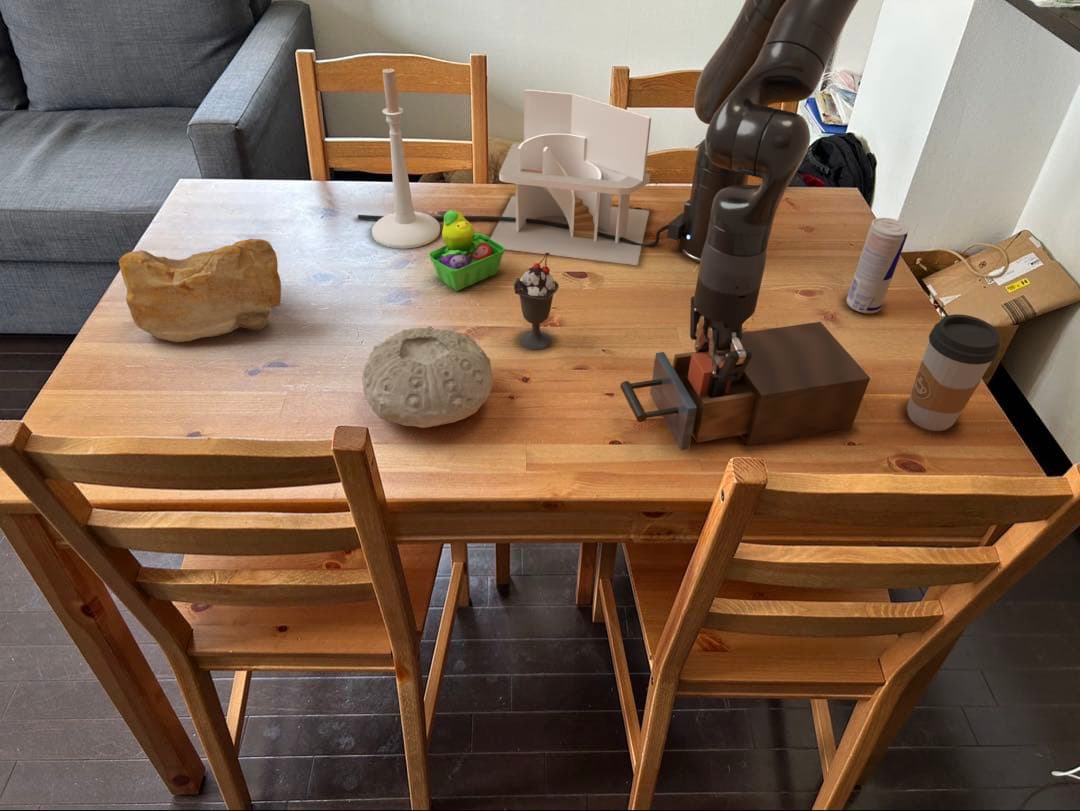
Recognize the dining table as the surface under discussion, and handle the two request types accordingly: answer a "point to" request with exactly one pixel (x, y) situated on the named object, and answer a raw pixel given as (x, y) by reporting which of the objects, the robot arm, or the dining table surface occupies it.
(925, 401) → the coffee cup
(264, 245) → the rough brown rock
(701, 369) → the block
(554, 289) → the sundae
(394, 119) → the candlestick
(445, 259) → the fruit basket
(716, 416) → the drawer
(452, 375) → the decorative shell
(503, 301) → the dining table surface
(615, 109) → the architectural model
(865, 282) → the beverage can
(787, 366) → the cabinet
